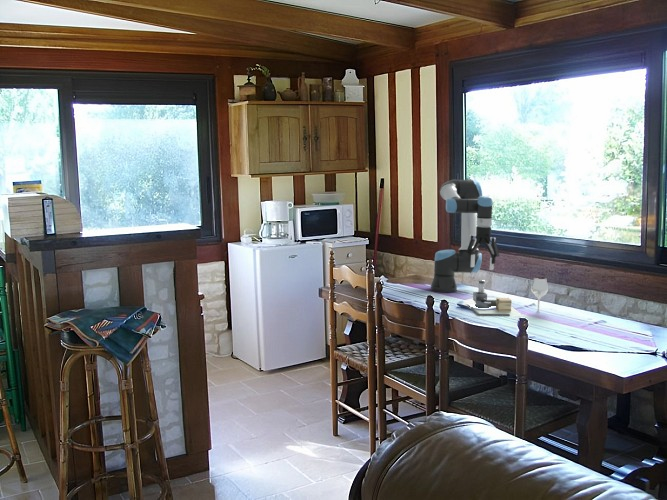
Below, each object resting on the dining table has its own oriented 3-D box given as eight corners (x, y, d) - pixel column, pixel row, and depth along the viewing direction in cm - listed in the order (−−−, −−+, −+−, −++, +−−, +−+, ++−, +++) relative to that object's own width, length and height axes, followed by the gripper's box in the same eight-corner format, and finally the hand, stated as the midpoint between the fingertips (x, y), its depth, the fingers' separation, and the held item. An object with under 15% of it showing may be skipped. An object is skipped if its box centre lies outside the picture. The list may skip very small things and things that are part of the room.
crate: (495, 309, 356) (496, 297, 355) (507, 309, 356) (508, 297, 355) (498, 311, 350) (499, 300, 349) (510, 311, 350) (511, 300, 349)
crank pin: (477, 298, 366) (478, 279, 364) (483, 298, 366) (484, 279, 365) (478, 299, 363) (479, 280, 361) (484, 299, 363) (485, 280, 361)
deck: (465, 304, 369) (465, 301, 368) (508, 304, 369) (508, 302, 369) (477, 317, 340) (477, 314, 340) (524, 317, 340) (524, 314, 340)
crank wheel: (470, 302, 368) (471, 291, 367) (503, 303, 369) (504, 292, 368) (477, 308, 354) (478, 297, 353) (511, 308, 355) (512, 297, 354)
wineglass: (526, 312, 351) (528, 277, 348) (534, 310, 357) (536, 275, 354) (541, 315, 345) (544, 280, 343) (549, 313, 351) (551, 278, 349)
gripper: (460, 224, 365) (459, 266, 368) (500, 228, 349) (497, 272, 352) (468, 224, 370) (466, 264, 373) (507, 227, 354) (505, 270, 357)
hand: (481, 268), depth 363 cm, fingers open, 11 cm apart
